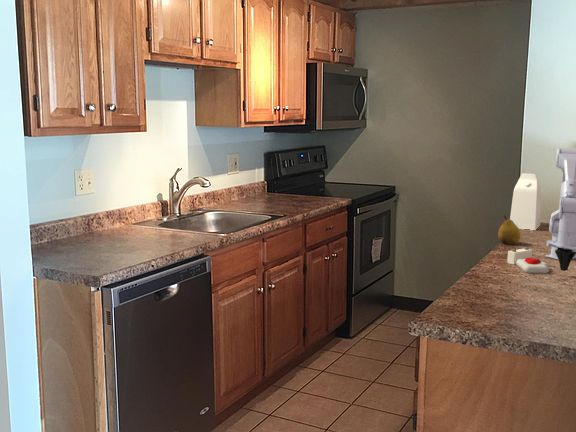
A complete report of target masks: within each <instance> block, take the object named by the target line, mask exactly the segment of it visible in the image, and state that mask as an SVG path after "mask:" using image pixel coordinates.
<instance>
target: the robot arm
mask: <svg viewBox="0 0 576 432" xmlns="http://www.w3.org/2000/svg"><path fill="white" fill-rule="evenodd" d="M555 154H556V155H555V167H556V169H557V168H558V169H560V170H561V182H560V183H561V184H560V185H561V186H560V192H559V194H560V195H559V204H558V205H559V206H558V209H557V210H556V211H554V212H552V213H551V215H550V219H549V227H548V228H549V229H548V231H549V234H551V235H552V236H551V239H550V240H546V247H551V249H550V253H549V254H545V257H547V258H551V259H555V260H558V263H559V268H560V271H563V272H565V271H569V267H570V264H571V262H572V260H573V259H576V148H561V147H558V148H557V149H556V153H555Z"/></svg>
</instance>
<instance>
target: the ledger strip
mask: <svg viewBox="0 0 576 432" xmlns="http://www.w3.org/2000/svg"><path fill="white" fill-rule="evenodd" d="M526 258H533V249H530V247H528V246H525V247H524V248H520V249H515V248H512V249H511V250H508V251H507V262H506V263H507V264H509V265H517V264H516V261H517V260H518V259H526Z"/></svg>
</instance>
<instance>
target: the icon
mask: <svg viewBox="0 0 576 432" xmlns="http://www.w3.org/2000/svg"><path fill="white" fill-rule="evenodd" d="M515 265H516V266H518V268H519V269H521V270H522V271H523V272H525V273H526V274H545V275H546V274H548V273H549V271H550V269H549V264H548V263H547V262H544V261H541V259H538V258H533V257H532V258H526V259H518V260H517V261H516V264H515Z"/></svg>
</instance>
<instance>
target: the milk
mask: <svg viewBox="0 0 576 432" xmlns="http://www.w3.org/2000/svg"><path fill="white" fill-rule="evenodd" d="M511 200H512V201H511V208H510V216H509V219H510V220H512V221H513V222H514V224H515V225H516V226H517V227H518V229H519V230H524V229H530V230H529V231H533V230H535V231H536V229H537V228H538V227H539V226H540V227H541V205H542V187H541V185H540V182H539V180H538V178H537V175H536V174H535V173H526V172H525V173H524V172H523V173H521V175H520V176H519V179H518V180H517V182H516V184H515V186H514V189H513V193H512V199H511ZM540 227H539V228H540ZM539 228H538V229H539ZM538 229H537V230H538Z"/></svg>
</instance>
